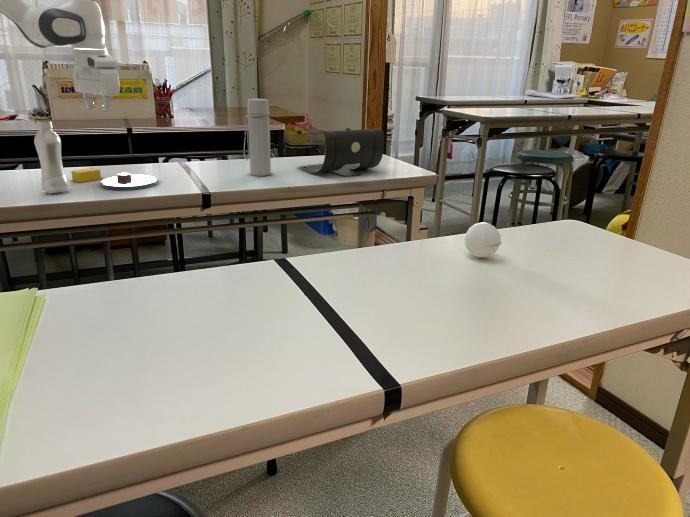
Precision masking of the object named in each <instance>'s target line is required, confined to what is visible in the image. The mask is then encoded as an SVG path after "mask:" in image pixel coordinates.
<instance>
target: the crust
mask: <svg viewBox="0 0 690 517" xmlns="http://www.w3.org/2000/svg"><path fill="white" fill-rule="evenodd" d="M131 175H132V173H128V172H121V173H118V174H116V176H117V179H119V180H127V179H131Z"/></svg>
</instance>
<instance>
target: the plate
mask: <svg viewBox="0 0 690 517" xmlns="http://www.w3.org/2000/svg"><path fill="white" fill-rule="evenodd" d="M157 184H158V178H156V177H155V176H151V175H146V174H131V179H127V180H119V179H117V175H116V176H112V177H107V178H104V179H103V180H101V187H102V188H104V189H106V190H112V191H134V190H143V189H149V188H151V187H154V186H156V185H157Z"/></svg>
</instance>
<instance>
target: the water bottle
mask: <svg viewBox="0 0 690 517" xmlns="http://www.w3.org/2000/svg"><path fill="white" fill-rule="evenodd" d="M269 106H270V105H269V100H268V99H266V98H247V110H246V111H247V112H246V114H244V118H245V124H244V125H245V126H244V134H246V138H244V139H243V150H245V146H246V142H248V143H247V155H248V157H247V158H246V155H245V153H243V158H244V161H248V160H249V172H250V174H251V175H252V176H255V177H265V176H266V177H267V176H270V175H271V173H272V163H271V162H272V161H271V160H272V159H271V127H270V126H271V125H270V124H271V122H270V115H271V114H270V108H269ZM246 139H247V141H246Z"/></svg>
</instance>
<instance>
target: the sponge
mask: <svg viewBox="0 0 690 517" xmlns="http://www.w3.org/2000/svg"><path fill="white" fill-rule="evenodd" d="M70 171H71V172H70V173H71V178H72V181H74V182H76V183H86V182H92V181H98V180H102V174H101V169H98V168H95V167H88V168H82V169H75V170H70Z"/></svg>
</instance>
